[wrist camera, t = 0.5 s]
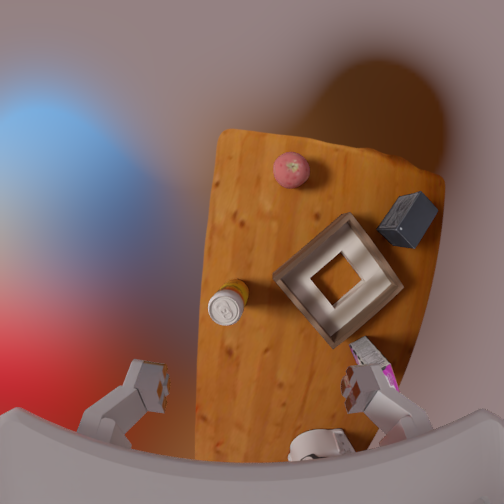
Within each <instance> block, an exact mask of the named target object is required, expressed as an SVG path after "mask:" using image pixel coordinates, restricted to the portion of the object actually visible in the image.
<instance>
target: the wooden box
mask: <svg viewBox="0 0 504 504" xmlns="http://www.w3.org/2000/svg"><path fill="white" fill-rule="evenodd" d="M340 252H341V253H342V254H343V256H344V257H345V258H346V260H347V261H348V262H349V263H350V265H351V266H352V267H353V269H354V270H355V271H356V273H357V274H358V275H359V277H360V278H361V279H362V280H361V281H360V282H359V283H358V284H357V285H356V286H354V287H353V288H352V289H351V290H350V291H349V292H348V293H346V294H345V295H344V296H343V297H342V298H341V299H339V300H338V301H337V302H336V303H335V304H333V305H331V304H330V303H329V301H328V300H327V299H326V298H325V296H324V295H323V294H322V293H321V291H320V290H319V289H318V288H317V287H316V285H315V284H314V283H313V282H312V280H311V279H310V278H311V277H312V276H313V275H314V274H315V273H316V272H318V271H319V270H320V269H321V268H322V267H324V266H325V265H326V264H327V263H328V262H329V261H330V260H332V259H333V258H334V257H335V256H336V255H337V254H338V253H340ZM273 280H274V281H275V282H276V283H277V284H278V286H279V287H280V288H281V289H282V290H283V291H284V293H285V294H286V295H287V296H288V297H289V298H290V300H291V301H292V302H293V303H294V304H295V305H296V307H297V308H298V309H299V310H300V311H301V312H302V314H303V315H304V316H305V317H306V318H307V319H308V321H309V322H310V323H311V324H312V325H313V327H314V328H315V329H316V330H317V331H318V332H319V334H320V335H321V336H322V337H323V338H324V339H325V341H326V342H327V343H328V344H329V345H330V346H331V348H332V349H334V348H335V347H337V346H338V345H339V344H341V343H342V342H343V341H344V340H346V339H347V338H348V337H349V336H350V335H352V334H353V333H354V332H355V331H357V330H358V329H359V328H360V327H361V326H362V325H364V324H365V323H366V322H367V321H368V320H369V319H371V318H372V317H373V316H374V315H375V314H376V313H377V312H378V311H380V310H381V309H382V308H383V307H384V306H385V305H386V304H387V303H388V302H389V301H390V300H392V299H393V298H394V297H395V296H396V295H397V294H398V293H399V292H400V291H401V290H402V289H403V288H404V286H403V285H402V283H401V282H400V280H399V279H398V277H397V276H396V274H395V273H394V271H393V270H392V268H391V267H390V265H389V264H388V262H387V261H386V260H385V258H384V257H383V255H382V254H381V252H380V251H379V250H378V248H377V247H376V246H375V244H374V243H373V241H372V240H371V239H370V237H369V236H368V235H367V233H366V232H365V231H364V229H363V228H362V227H361V225H360V224H359V223H358V222H357V220H356V219H355V218H354V216H353V215H352V214H351V213H350V212H349V213H345V214H341V215H340V216H339V217H338V218H337V219H335V220H334V221H333V222H332V223H331V224H330V225H329V226H327V227H326V228H325V229H324V230H323V231H322V232H321V233H319V234H318V235H317V236H316V237H315V238H314V239H312V240H311V241H310V242H309V243H308V244H307V245H305V246H304V247H303V248H302V249H301V250H300V251H298V252H297V253H296V254H295V255H294V256H292V257H291V258H290V259H289V260H288V261H287V262H285V263H284V264H283V265H282V266H281V267H279V268H278V269H277V270H276V271H275V272H273Z"/></svg>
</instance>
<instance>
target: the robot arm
mask: <svg viewBox="0 0 504 504" xmlns="http://www.w3.org/2000/svg"><path fill="white" fill-rule="evenodd" d="M346 373H347V375H345V376H344V377H343V379H342V381H341V392H342V395H343V396H344V397H345V398H346V401H345V406H346V409H347V413H348V414H349V413H357V412H364V413H365V414H366V415H367V416H368V417H369V418H370V419H371V420H372V421H373V422H374V423H375V424H376V425H377V426H378V427H379V428H380V429H381V430H382V431H383V432H384V433H385V434H386V436H385V437H384V438H383V439H382V440H381V441H380V443H379V445H380V447H378V448H374V449H369V450H365V451H360V452H355V450H354V448H353V447H352V445H351V443H350V442H349V440H348V438H347V437H346V435H345V433H344V432H343V430H342V429H333V430H326V429H316V430H311V431H307V432H305V433H302V434H301V435H299V436H297V437H296V438H295V439H294V440H293V441H292V443H291V446H290V454H289V455H288V460H289V461H290V462H272V463H231V462H213V461H201V460H192V459H183V458H176V457H170V456H164V455H158V454H153V453H147V452H142V451H138V450H134V449H131V443H130V442H129V441H128V439H127V438H126V437H125V435H124V434H125V433H126V432H127V431H128V430H129V429H130V428H131V427H132V426H133V425H134V424H135V423H136V422H137V421H138V420H139V419H140V418H141V417H142V416H143V415H144V414H145V413H146V412H147V411H152V412H159V413H165V408H166V404H167V400H166V396H167V395H168V394H169V390H170V376H169V375H168V374H167V365H166V364H161V363H154V362H149V361H143V360H137V359H134V360H133V361H132V363H131V365H130V368H129V371H128V373H127V376H126V379H125V381H124V384H123V386H118V387H117V388H116V389H114V390H113V391H112V392H110V393H109V394H107V395H106V396H105V397H103V398H102V399H101V400H99V401H98V402H96V403H95V404H93V405H92V406H91V407H89V408H88V409H86V410H85V412H84V414H83V417H82V419H81V422H80V425H79V427H78V430H77V432H74V431H71V430H69V429H66V428H63V427H61V426H59V425H56V424H54V423H52V422H49V421H47V420H45V419H43V418H41V417H38V416H36V415H34V414H32V413H30V412H28V411H26V410H24V409H22V408H18V407H17V408H14V409H12V410H10V411H8V412H6V413H4V414H2V415H1V416H0V504H504V419H502V418H501V417H499V416H497V415H496V414H494V413H492V412H490V411H488V410H486V409H479V410H477V411H475V412H473V413H471V414H469V415H467V416H464V417H462V418H460V419H458V420H456V421H453V422H451V423H449V424H446V425H444V426H442V427H439V428H437V429H433V427H432V425H431V422H430V420H429V418H428V416H427V413H426V411H425V410H424V409H422V408H421V407H419V406H418V405H416V404H415V403H414V402H412V401H411V400H409V399H408V398H407V397H405V396H404V395H402V394H401V393H400V392H398V391H397V390H395V389H394V388H390V386H389V384H388V382H387V380H386V377H385V375H384V373H383V371H382V369H381V367H380V364H378V363H373V364H363V365H355V366H349V367H348V368H347V370H346Z"/></svg>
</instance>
